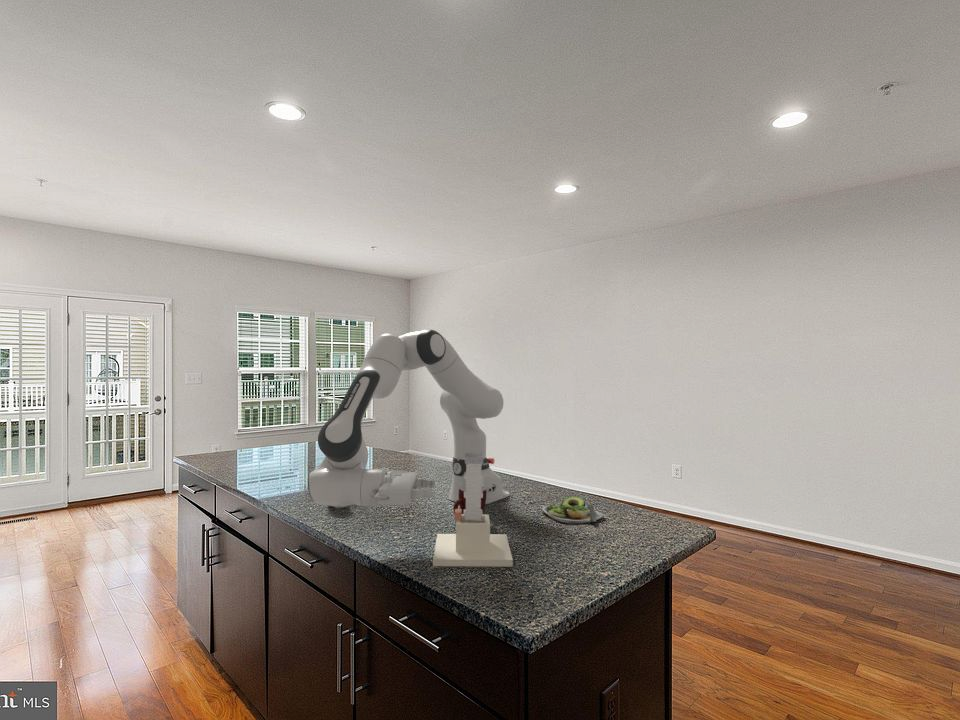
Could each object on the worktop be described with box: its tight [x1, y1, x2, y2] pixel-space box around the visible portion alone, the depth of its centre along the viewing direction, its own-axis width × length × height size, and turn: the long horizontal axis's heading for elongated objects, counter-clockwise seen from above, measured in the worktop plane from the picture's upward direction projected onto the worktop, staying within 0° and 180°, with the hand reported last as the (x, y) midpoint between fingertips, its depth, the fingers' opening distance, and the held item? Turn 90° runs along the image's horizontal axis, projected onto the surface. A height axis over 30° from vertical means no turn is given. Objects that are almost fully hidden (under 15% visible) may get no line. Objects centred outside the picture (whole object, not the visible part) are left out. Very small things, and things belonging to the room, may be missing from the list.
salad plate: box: [541, 496, 604, 525], centre depth 155 cm, size 19×18×5 cm
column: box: [463, 453, 484, 523], centre depth 124 cm, size 6×5×24 cm
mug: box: [452, 486, 486, 515], centre depth 146 cm, size 10×8×10 cm
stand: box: [432, 508, 514, 568], centre depth 123 cm, size 18×18×10 cm
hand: (433, 488), depth 123 cm, fingers open, 8 cm apart
